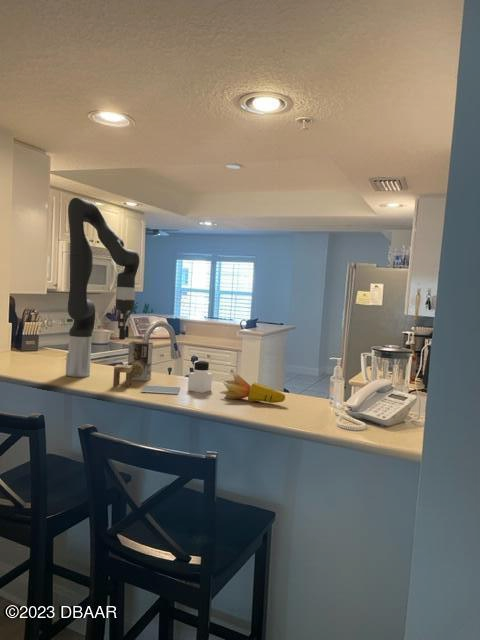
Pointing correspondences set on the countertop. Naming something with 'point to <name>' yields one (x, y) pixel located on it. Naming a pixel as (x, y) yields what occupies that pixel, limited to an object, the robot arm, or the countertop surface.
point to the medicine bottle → (200, 378)
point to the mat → (160, 389)
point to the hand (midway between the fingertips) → (123, 338)
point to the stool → (124, 369)
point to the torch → (250, 391)
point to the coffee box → (140, 360)
